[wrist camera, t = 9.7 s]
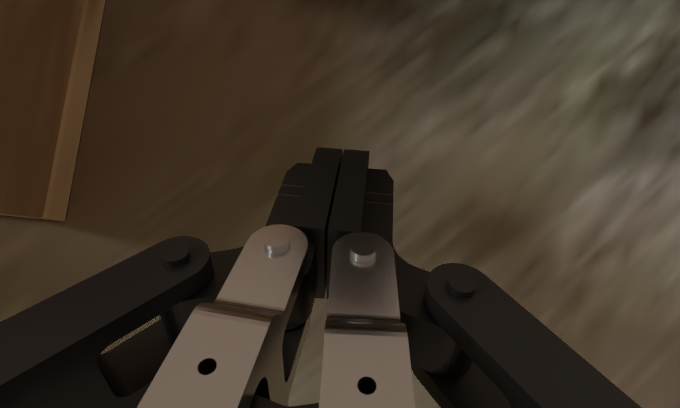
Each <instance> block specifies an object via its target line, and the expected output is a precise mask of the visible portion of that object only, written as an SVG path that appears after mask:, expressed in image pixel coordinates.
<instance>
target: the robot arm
mask: <svg viewBox="0 0 680 408" xmlns="http://www.w3.org/2000/svg"><path fill="white" fill-rule="evenodd" d="M368 163H369V151H359V150H347V149H344V152H343V150H342V149H333V148H320V147H317V149H316V152H315V155H314V158H313V161H312V164H306V163H297V164H296V165H294V166H293V167H292V168H291V169H290V170H289V171H287V172H286V175H285V178H284V180H283V183H282V186H281V188H280V190H279V195H278V196H277V198H276V201H275V203H274V206H273V208H272V211H271V214H270V216H269V219H268V221H267V224H266V227H263V228H261V229H259V230H257V231H256V232H254V233H253V234H252V235H251V236H250V237H249V239H248V240H247V242H246V244H245V246H243V247H240V248H237V249H232V250H225V251H218V252H211V253H210V251H209V248H208V246H207V244H206V243H205V242H203V241H202V240H200V239H198V238H194V237H189V236H181V237H174V238H170V239H167V240H165V241H162V242H160V243H158V244H156V245H154V246H152V247H150V248H148V249H146V250H144V251H142V252H140V253H138V254H136V255H134V256H132V257H130V258H128V259H126V260H124V261H122V262H120V263H118V264H116V265H114V266H112V267H110V268H108V269H106V270H104V271H102V272H100V273H98V274H96V275H94V276H92V277H90V278H88V279H86V280H84V281H82V282H80V283H78V284H76V285H74V286H72V287H70V288H68V289H66V290H64V291H62V292H60V293H58V294H56V295H54V296H52V297H50V298H48V299H46V300H44V301H42V302H40V303H38V304H36V305H34V306H32V307H30V308H28V309H26V310H24V311H22V312H20V313H18V314H16V315H14V316H12V317H10V318H8V319H6V320H4V321H2V322H0V408H415V399H414V390H413V381H412V371H413V373H414V374H415V376H416V377H417V379H418V380H419V381H420V382H421V384H422V385H423V386H424V387H425V389H426V390H427V391H428V392H429V394H430V395H431V396H432V397H433V398H434V400H435V401H436V402H437V403H438V405H439V406H440V407H441V408H641V407H640V406H639V405H638V404H636V403H635V402H634V401H633V400H632V399H630V398H629V397H628V396H627V395H626V394H625V393H623V392H622V391H621V390H620V389H619V388H618V387H616V386H615V385H614V384H613V383H612V382H610V381H609V380H608V379H607V378H606V377H605V376H603V375H602V374H601V373H600V372H599V371H598V370H596V369H595V368H594V367H593V366H592V365H590V364H589V363H588V362H587V361H586V360H585V359H583V358H582V357H581V356H580V355H579V354H577V353H576V352H575V351H574V350H573V349H572V348H570V347H569V346H568V345H567V344H566V343H565V342H563V341H562V340H561V339H560V338H559V337H557V336H556V335H555V334H554V333H553V332H552V331H550V330H549V329H548V328H547V327H546V326H544V325H543V324H542V323H541V322H540V321H539V320H537V319H536V318H535V317H534V316H533V315H532V314H530V313H529V312H528V311H527V310H526V309H524V308H523V307H522V306H521V305H520V304H519V303H517V302H516V301H515V300H514V299H513V298H511V297H510V296H509V295H508V294H507V293H506V292H504V291H503V290H502V289H501V288H500V287H499V286H497V285H496V284H495V283H494V282H493V281H491V280H490V279H489V278H488V277H487V276H486V275H484V274H483V273H482V272H480V271H479V270H477V269H475V268H473V267H470V266H467V265H464V264H458V263H449V264H443V265H440V266H438V267H436V268H435V269H433V270H432V271H431V272H428V271H425V270H422V269H420V268H417V267H414V266H412V265H410V264H409V263H407V262H405V261H404V260H403V259H402V258H401V257H399V255H398V254H397V253H396V251H395V249H394V247H393V243H392V229H393V180H392V178H391V176H390V175H389V173H388V172H387V170H380V169H368ZM326 286H327V299H328V311H327V319H326V323H325V334H324V347H323V360H322V373H321V386H320V399H319V403H315V404H308V405H301V406H292V407H289V406H288V398H289V393H290V389H291V385H292V382H293V378H294V375H295V372H296V368H297V365H298V362H299V358H300V355H301V351H302V348H303V345H304V341H305V338H306V335H307V331H308V328H309V324H310V314H311V311H312V307H313V302H314V298H323V299H324V297H325V291H326ZM158 315H160V316H161V319H160V320H159V321H157V322H156V323H154V324H152V325H151V326H149V327H147V328H146V329H144V330H142V331H141V332H139V333H138V334H136V335H134V336H133V337H131V338H129V339H128V340H126V341H124V342H123V343H121V344H120V345H118V346H116V347H115V348H113V349H111V350H110V351H108V352H106V353H104V354H101V352H102V351H103V350H104V349H105V348H106V347H107V346H109V345H110V344H112V343H113V342H115V341H117V340H118V339H120V338H122V337H123V336H125V335H127V334H128V333H130V332H132V331H133V330H135V329H137V328H138V327H140V326H142V325H143V324H145V323H147V322H148V321H150V320H151V319H153V318H155V317H156V316H158ZM100 354H101V355H100ZM411 368H412V371H411Z"/></svg>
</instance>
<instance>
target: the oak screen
mask: <svg viewBox="0 0 680 408" xmlns="http://www.w3.org/2000/svg"><path fill="white" fill-rule="evenodd" d="M105 1H106V0H0V215H5V216H15V217H26V218H36V219H47V220H57V221H65V217H66V212H67V207H68V201H69V196H70V190H71V185H72V180H73V174H74V169H75V163H76V158H77V152H78V147H79V142H80V136H81V131H82V125H83V120H84V115H85V109H86V104H87V98H88V93H89V87H90V82H91V77H92V71H93V66H94V60H95V55H96V50H97V44H98V39H99V33H100V28H101V22H102V17H103V12H104V6H105Z"/></svg>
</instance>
